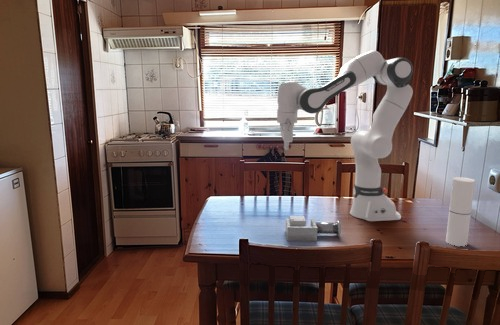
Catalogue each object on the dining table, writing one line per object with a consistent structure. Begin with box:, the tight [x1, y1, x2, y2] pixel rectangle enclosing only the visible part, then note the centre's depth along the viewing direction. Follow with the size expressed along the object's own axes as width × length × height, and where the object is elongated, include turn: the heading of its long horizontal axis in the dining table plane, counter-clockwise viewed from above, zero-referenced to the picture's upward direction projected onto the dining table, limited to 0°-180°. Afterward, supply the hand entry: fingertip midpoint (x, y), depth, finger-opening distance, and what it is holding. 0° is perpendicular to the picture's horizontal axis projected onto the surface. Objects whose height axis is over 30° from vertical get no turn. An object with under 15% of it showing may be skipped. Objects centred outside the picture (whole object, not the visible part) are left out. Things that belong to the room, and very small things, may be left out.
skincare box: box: [289, 215, 307, 227], centre depth 146 cm, size 6×6×7 cm
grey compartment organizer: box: [285, 217, 342, 242], centre depth 146 cm, size 21×10×6 cm, turn 88°
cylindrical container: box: [445, 176, 476, 247], centre depth 138 cm, size 7×7×25 cm
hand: (286, 149), depth 164 cm, fingers closed
